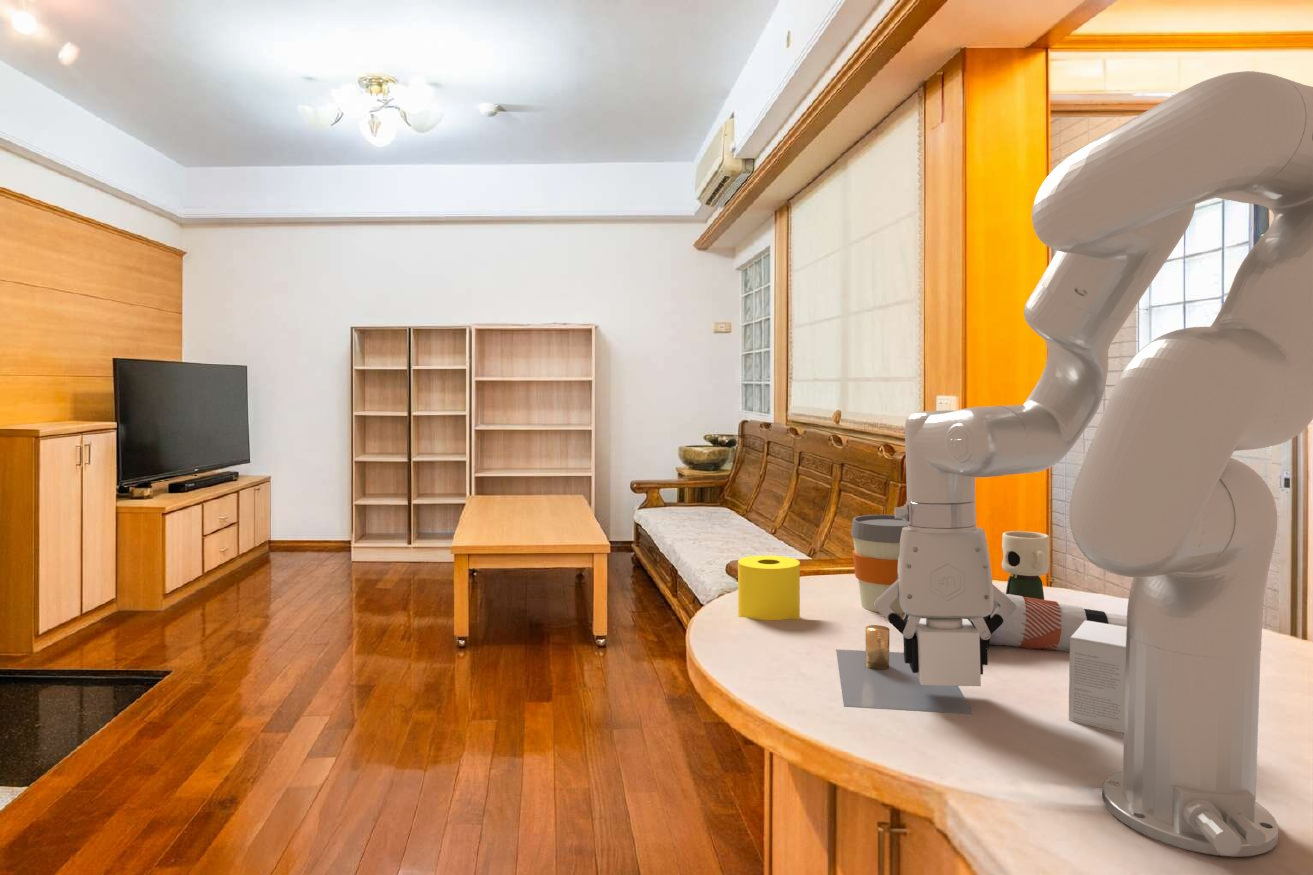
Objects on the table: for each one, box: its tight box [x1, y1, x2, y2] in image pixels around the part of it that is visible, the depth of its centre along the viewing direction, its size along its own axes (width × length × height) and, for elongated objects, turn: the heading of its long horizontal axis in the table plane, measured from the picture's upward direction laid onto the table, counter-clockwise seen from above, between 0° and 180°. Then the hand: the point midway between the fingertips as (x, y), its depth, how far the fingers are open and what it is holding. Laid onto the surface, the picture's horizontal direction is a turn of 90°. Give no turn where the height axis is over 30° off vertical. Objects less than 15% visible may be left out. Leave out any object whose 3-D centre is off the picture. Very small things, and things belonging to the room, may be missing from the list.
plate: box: [835, 649, 974, 715], centre depth 98 cm, size 20×14×1 cm
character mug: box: [1001, 530, 1050, 600], centre depth 131 cm, size 11×7×13 cm, turn 1°
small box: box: [1068, 620, 1127, 734], centre depth 86 cm, size 8×6×10 cm
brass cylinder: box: [864, 624, 890, 670], centre depth 102 cm, size 3×3×5 cm
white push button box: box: [915, 618, 982, 687], centre depth 91 cm, size 6×6×7 cm
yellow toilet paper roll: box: [737, 554, 801, 621], centre depth 129 cm, size 10×10×9 cm
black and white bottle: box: [921, 591, 1127, 655], centre depth 110 cm, size 10×34×10 cm
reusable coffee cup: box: [850, 514, 908, 615], centre depth 135 cm, size 13×13×15 cm
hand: (945, 668), depth 91 cm, fingers closed on white push button box, 6 cm apart
